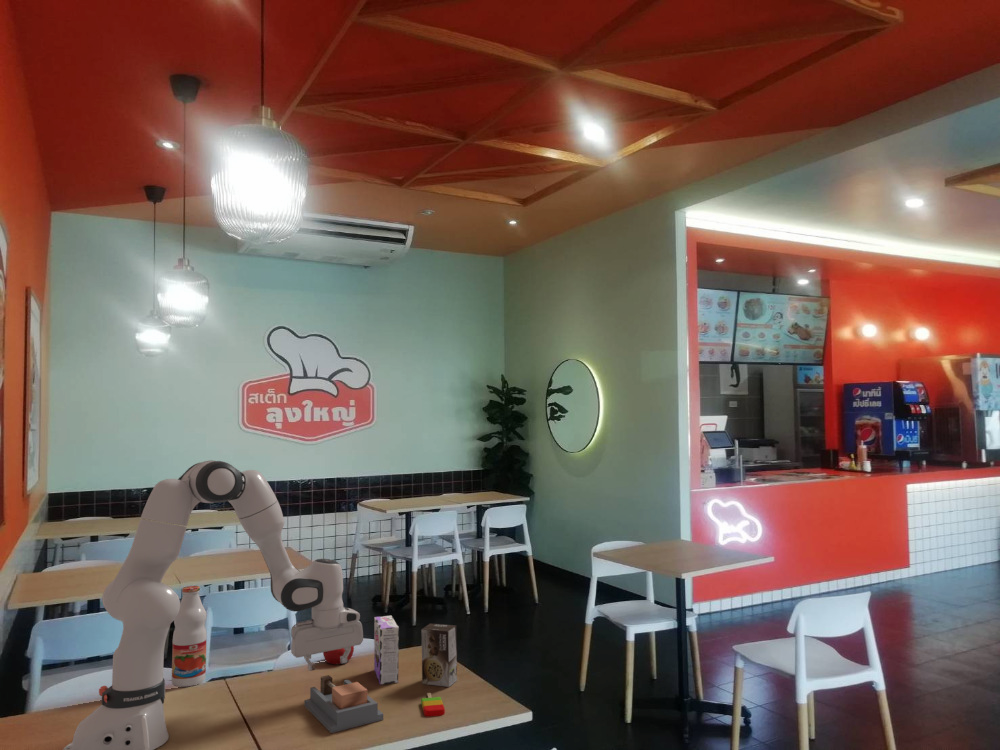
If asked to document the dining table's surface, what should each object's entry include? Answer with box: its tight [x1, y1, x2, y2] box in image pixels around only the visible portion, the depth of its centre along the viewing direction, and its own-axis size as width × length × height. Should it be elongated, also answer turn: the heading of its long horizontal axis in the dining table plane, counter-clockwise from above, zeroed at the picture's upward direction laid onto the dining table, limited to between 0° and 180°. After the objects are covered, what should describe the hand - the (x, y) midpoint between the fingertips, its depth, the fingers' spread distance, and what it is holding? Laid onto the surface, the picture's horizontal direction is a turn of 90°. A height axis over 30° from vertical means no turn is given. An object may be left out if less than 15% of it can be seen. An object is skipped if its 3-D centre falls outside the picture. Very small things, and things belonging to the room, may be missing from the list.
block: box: [319, 674, 368, 710], centre depth 187 cm, size 7×23×7 cm, turn 33°
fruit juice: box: [171, 585, 208, 688], centre depth 210 cm, size 9×9×28 cm
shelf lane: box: [303, 679, 384, 734], centre depth 184 cm, size 14×21×4 cm, turn 34°
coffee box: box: [420, 623, 458, 688], centre depth 207 cm, size 9×6×16 cm
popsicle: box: [420, 692, 446, 718], centre depth 189 cm, size 6×15×2 cm, turn 12°
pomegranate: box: [322, 646, 355, 665], centre depth 226 cm, size 10×10×9 cm
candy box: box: [373, 615, 400, 685], centre depth 212 cm, size 14×6×16 cm, turn 17°
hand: (327, 666), depth 196 cm, fingers open, 8 cm apart
